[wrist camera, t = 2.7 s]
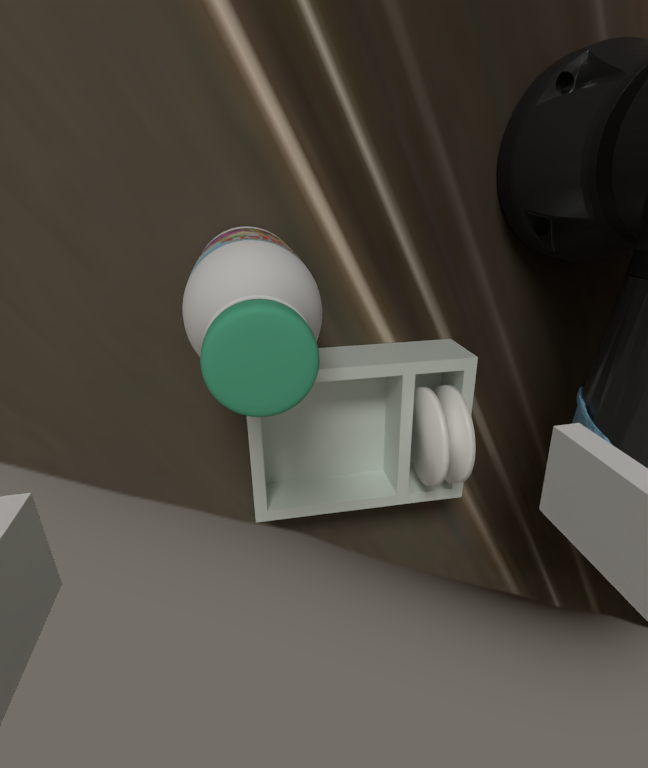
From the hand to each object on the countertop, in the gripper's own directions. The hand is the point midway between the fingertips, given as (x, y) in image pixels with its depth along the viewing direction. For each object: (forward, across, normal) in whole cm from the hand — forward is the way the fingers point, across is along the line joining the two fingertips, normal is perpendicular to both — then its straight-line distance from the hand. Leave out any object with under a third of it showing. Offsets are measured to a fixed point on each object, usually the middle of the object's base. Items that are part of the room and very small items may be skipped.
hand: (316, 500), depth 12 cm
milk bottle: (+27, -1, +1) cm, 27 cm away
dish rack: (+27, +7, -11) cm, 30 cm away
